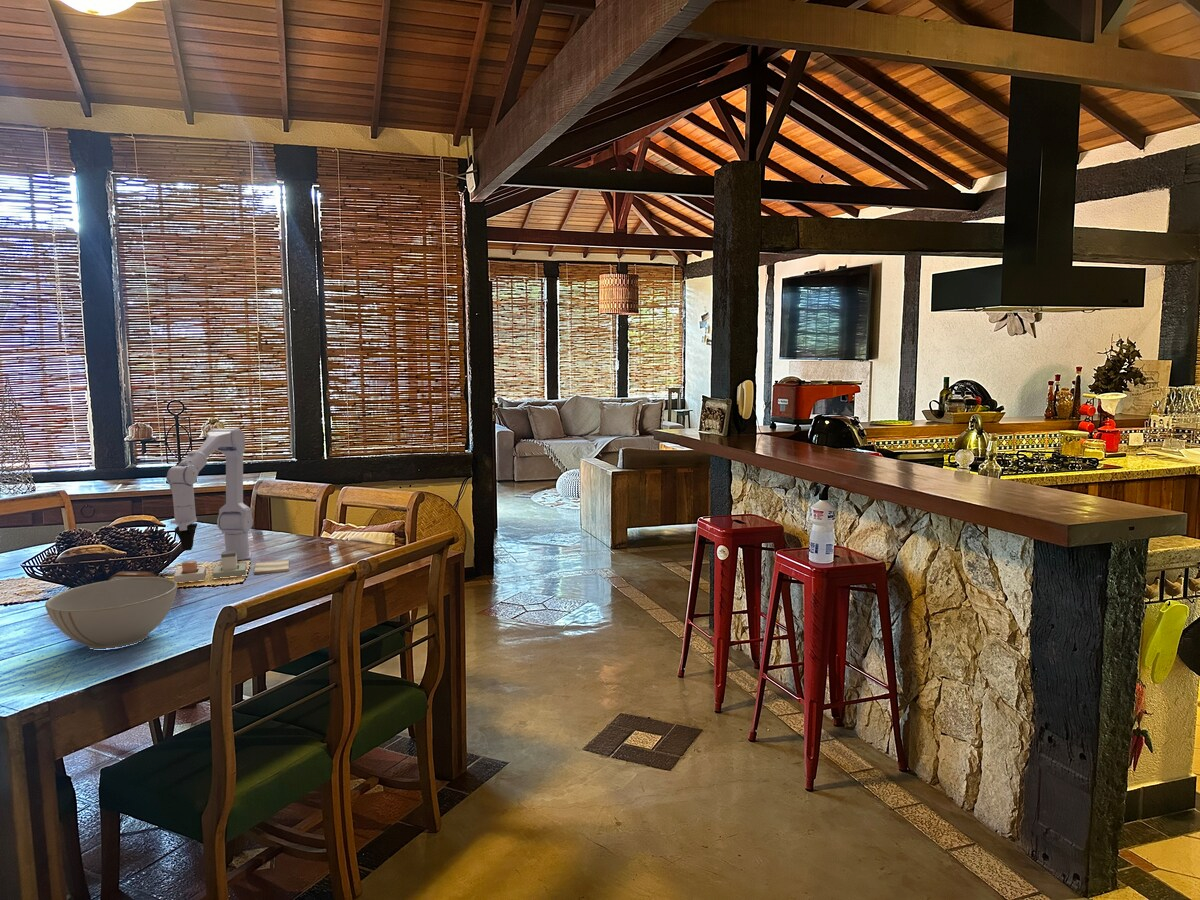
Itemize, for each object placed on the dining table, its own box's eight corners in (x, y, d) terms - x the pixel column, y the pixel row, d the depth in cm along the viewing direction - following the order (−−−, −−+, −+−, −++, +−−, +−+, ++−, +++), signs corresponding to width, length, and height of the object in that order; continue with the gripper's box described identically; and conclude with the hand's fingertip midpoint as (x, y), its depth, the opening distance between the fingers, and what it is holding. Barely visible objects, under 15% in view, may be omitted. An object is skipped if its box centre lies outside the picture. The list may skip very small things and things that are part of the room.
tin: (164, 600, 222) (161, 570, 221) (156, 603, 219) (154, 573, 218) (114, 599, 224) (111, 570, 223) (106, 603, 221) (103, 573, 220)
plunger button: (183, 571, 243) (182, 561, 243) (198, 569, 245) (197, 560, 244) (181, 574, 239) (181, 564, 239) (196, 572, 241) (195, 563, 241)
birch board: (255, 565, 257) (255, 562, 257) (288, 561, 261) (288, 559, 261) (254, 574, 246) (254, 572, 246) (288, 570, 250) (288, 568, 249)
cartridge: (223, 573, 248) (222, 551, 247) (237, 571, 250) (236, 550, 249) (222, 576, 245) (221, 554, 244) (237, 575, 246) (235, 553, 245)
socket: (215, 572, 250) (215, 566, 250) (246, 568, 253) (246, 562, 253) (213, 579, 241) (212, 573, 241) (245, 576, 245) (244, 569, 244)
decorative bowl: (30, 669, 173) (24, 616, 172) (75, 629, 199) (70, 582, 198) (165, 655, 180) (161, 603, 179) (192, 617, 206) (188, 572, 205)
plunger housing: (177, 577, 245) (177, 569, 244) (206, 574, 247) (205, 566, 247) (174, 584, 237) (173, 576, 237) (203, 581, 240) (203, 573, 240)
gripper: (172, 502, 245) (176, 545, 246) (165, 510, 231) (169, 556, 233) (198, 500, 247) (201, 543, 249) (192, 508, 234) (196, 553, 236)
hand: (188, 549), depth 241 cm, fingers closed
